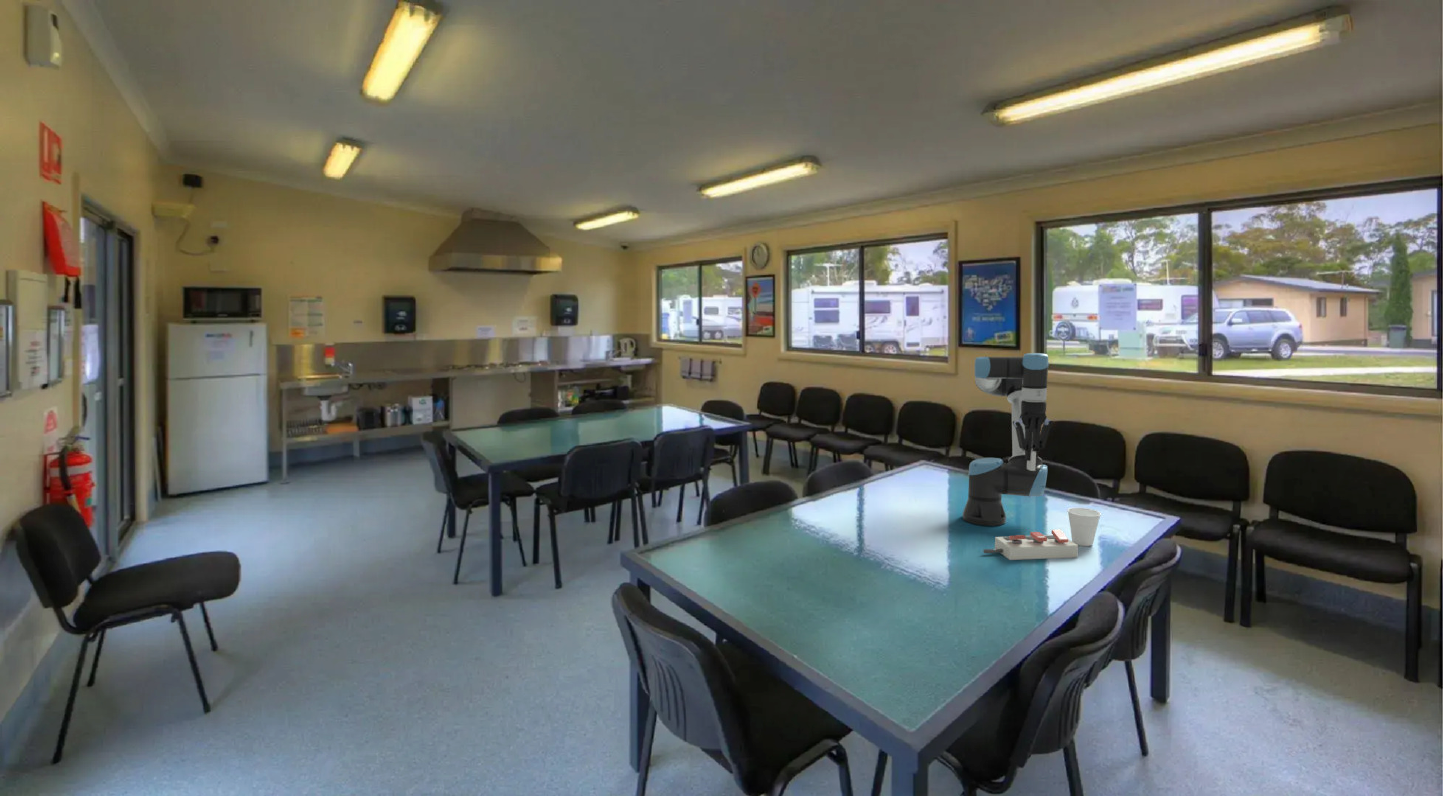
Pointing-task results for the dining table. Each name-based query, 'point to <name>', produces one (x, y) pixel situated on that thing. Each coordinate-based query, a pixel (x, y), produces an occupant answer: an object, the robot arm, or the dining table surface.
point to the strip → (1033, 548)
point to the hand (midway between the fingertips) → (1030, 469)
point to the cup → (1083, 525)
